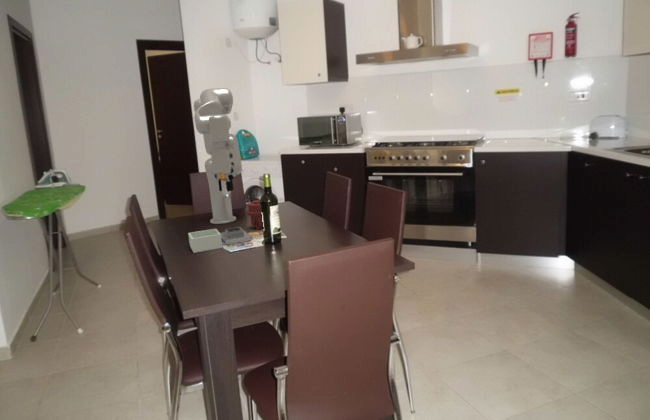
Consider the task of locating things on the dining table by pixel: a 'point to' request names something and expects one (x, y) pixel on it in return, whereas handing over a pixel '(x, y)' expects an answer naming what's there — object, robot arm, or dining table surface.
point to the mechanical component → (255, 214)
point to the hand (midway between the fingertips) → (226, 190)
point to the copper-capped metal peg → (224, 186)
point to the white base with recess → (234, 235)
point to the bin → (205, 240)
